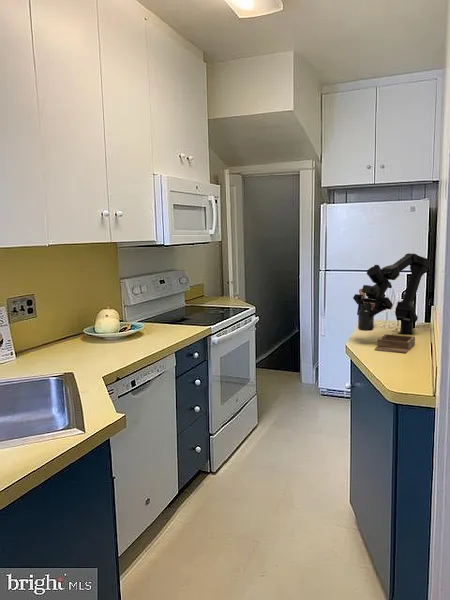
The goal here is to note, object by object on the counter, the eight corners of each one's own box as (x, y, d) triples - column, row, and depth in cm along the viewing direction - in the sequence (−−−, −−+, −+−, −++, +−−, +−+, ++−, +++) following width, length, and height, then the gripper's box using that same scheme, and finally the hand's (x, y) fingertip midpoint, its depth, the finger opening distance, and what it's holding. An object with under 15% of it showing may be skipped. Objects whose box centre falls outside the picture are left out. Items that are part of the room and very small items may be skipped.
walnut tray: (385, 341, 222) (385, 334, 222) (414, 344, 216) (414, 336, 215) (374, 350, 207) (374, 342, 207) (405, 353, 200) (406, 345, 200)
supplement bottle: (374, 331, 217) (374, 305, 215) (358, 331, 218) (358, 305, 217) (372, 328, 224) (373, 302, 222) (357, 328, 225) (357, 302, 223)
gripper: (355, 277, 228) (339, 302, 223) (389, 279, 212) (372, 307, 208) (366, 292, 233) (351, 317, 229) (399, 295, 218) (384, 322, 213)
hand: (364, 315), depth 219 cm, fingers closed on supplement bottle, 7 cm apart
